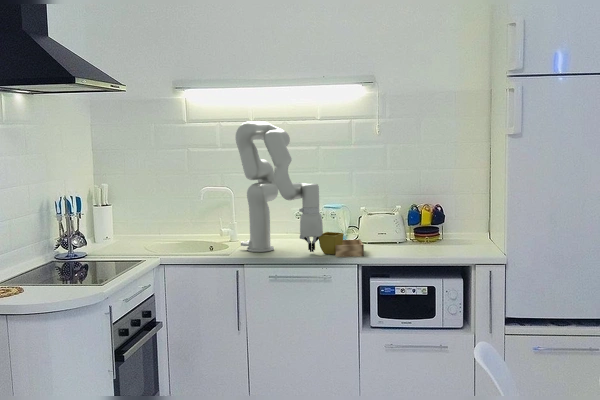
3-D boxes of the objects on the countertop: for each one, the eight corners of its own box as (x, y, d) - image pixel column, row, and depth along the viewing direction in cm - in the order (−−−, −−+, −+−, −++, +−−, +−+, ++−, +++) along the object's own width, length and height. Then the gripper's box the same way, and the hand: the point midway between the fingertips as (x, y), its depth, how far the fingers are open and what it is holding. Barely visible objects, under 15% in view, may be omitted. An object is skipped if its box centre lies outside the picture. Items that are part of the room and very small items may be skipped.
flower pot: (335, 255, 287) (335, 235, 286) (318, 254, 291) (317, 234, 290) (344, 252, 295) (344, 232, 294) (327, 251, 299) (326, 231, 298)
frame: (335, 256, 285) (335, 245, 285) (333, 250, 300) (333, 240, 299) (363, 256, 285) (363, 244, 285) (360, 250, 300) (360, 239, 299)
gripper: (294, 212, 287) (295, 253, 288) (328, 211, 287) (328, 252, 288) (294, 210, 294) (295, 250, 296) (327, 209, 294) (328, 249, 296)
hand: (311, 251), depth 292 cm, fingers closed
